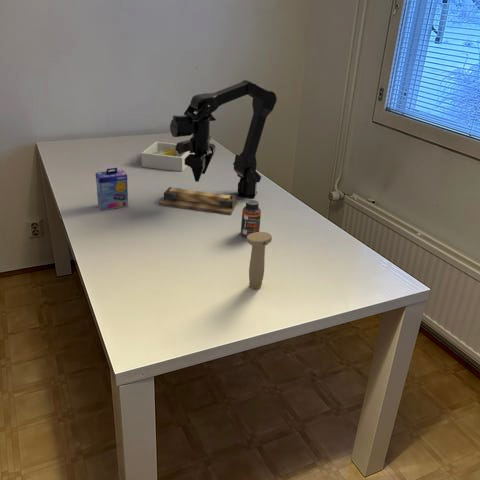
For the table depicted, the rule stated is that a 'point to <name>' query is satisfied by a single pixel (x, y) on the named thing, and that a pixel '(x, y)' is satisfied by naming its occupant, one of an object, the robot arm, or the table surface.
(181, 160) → the tray
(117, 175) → the ink cartridge box
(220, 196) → the slat
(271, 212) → the table surface
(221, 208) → the endcap frame
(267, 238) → the handle
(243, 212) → the supplement bottle
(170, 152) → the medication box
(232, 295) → the table surface
